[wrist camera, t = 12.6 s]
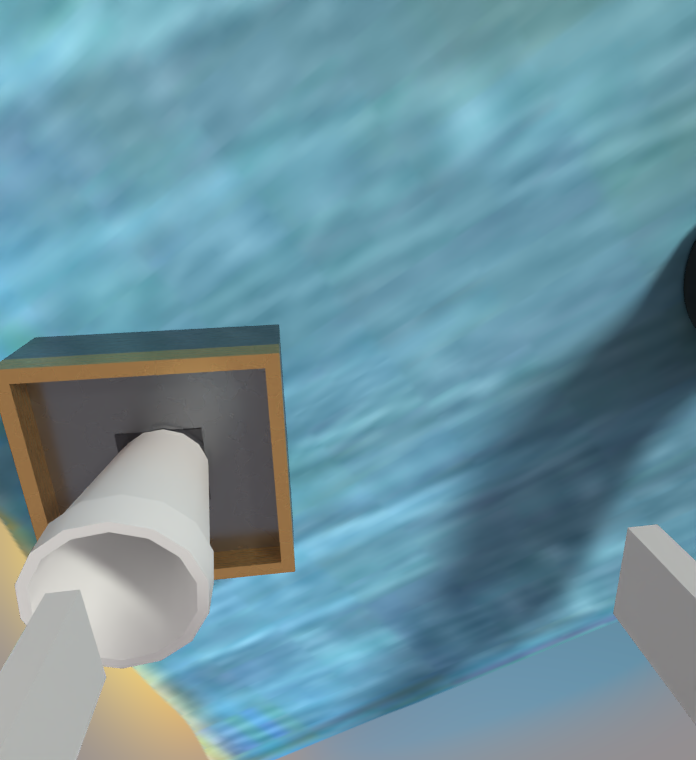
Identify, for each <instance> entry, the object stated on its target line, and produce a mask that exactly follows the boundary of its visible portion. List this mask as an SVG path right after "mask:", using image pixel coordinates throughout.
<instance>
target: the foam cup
mask: <svg viewBox="0 0 696 760" xmlns="http://www.w3.org/2000/svg"><path fill="white" fill-rule="evenodd" d="M213 584H214V551H213V549H212V548H211V546H210V525H209V472H208V459H207V457H206V456H205V454H204V452H203V450H202V449H201V447H200V445H199V444H198V443H196V442H195V441H193V440H192V439H190V438H189V437H187V436H186V435H185V434H183V433H178V432H174V431H169V430H164V429H162V430H156V431H151V432H145V433H142V434H141V435H139V436H138V437H137V438H135V439H134V440H132V441H131V442H129V443H128V444H127V446H125V447H124V448H123V449H122V450H121V451H120V452H119V453H118V454H117V456H116V457H115V458H114V459H113V460H112V461H111V462H110V463H109V464H108V465H107V466H106V468H105V469H104V470H103V471H102V472H101V473H100V474H99V475H98V476H97V477H96V478H95V480H94V481H93V482H92V483H91V484H90V485H89V486H88V487H87V488H86V489H85V490H84V491H83V493H82V494H81V495H80V496H79V497H78V498H77V499H76V500H75V501H74V502H73V503H72V505H71V506H70V507H69V508H68V509H67V510H66V511H65V512H64V513H63V514H62V515H60V516H59V517H58V518H56V519H55V520H53V521H52V522H50V523H49V524H48V526H47V527H46V529H45V530H44V532H43V533H42V535H41V536H40V538H39V540H38V541H37V543H36V544H35V546H34V547H33V549H32V550H31V552H30V553H29V556H28V558H27V560H26V562H25V564H24V566H23V569H22V571H21V573H20V575H19V577H18V579H17V581H16V583H15V591H16V596H17V602H18V607H19V613H20V619H21V620H22V621H23V622H24V623H25V624H26V626H27V624H28V622H29V620H30V619H31V617H32V615H33V614H34V612H35V610H36V608H37V607H38V605H39V603H40V601H41V600H42V598H43V596H44V595H45V593H53V592H62V591H70V590H79V589H80V591H81V594H82V598H83V601H84V604H85V608H86V611H87V615H88V618H89V621H90V625H91V628H92V631H93V635H94V638H95V641H96V645H97V648H98V651H99V655H100V658H101V661H102V665H103V666H105V667H113V668H127V667H132V666H137V665H141V664H146V663H151V662H156V661H160V660H163V659H164V658H166V657H167V656H169V655H170V654H172V653H174V652H175V651H177V650H178V649H180V648H181V647H183V646H185V645H186V644H188V643H189V642H191V641H192V640H193V638H194V637H195V635H196V633H197V632H198V630H199V628H200V627H201V625H202V624H203V622H204V620H205V619H206V617H207V615H208V614H209V610H210V603H211V597H212V590H213Z"/></svg>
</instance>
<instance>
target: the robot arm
mask: <svg viewBox="0 0 696 760" xmlns="http://www.w3.org/2000/svg"><path fill="white" fill-rule="evenodd" d="M684 297H685V304H686V308H687V312H688V314H689V317H690V319H691V321H692V323H693V325H694V326H695V328H696V241H695V243H694V245H693V248H692V250H691V253H690V256H689V259H688V263H687V267H686V272H685V279H684ZM613 614H614V615H615V617H616V618H617V619H618V621H619V622H620V623H621V625H622V626H623V627H624V629H625V630H626V631H627V632H628V634H629V635H630V637H631V638H632V640H633V641H634V642H635V643H636V645H637V646H638V648H639V649H640V650H641V651H642V653H643V654H644V656H645V657H646V658H647V660H648V661H649V662H650V664H651V665H652V667H653V668H654V669H655V671H656V672H657V673H658V675H659V676H660V677H661V679H662V680H663V681H664V683H665V684H666V685H667V687H668V688H669V689H670V691H671V692H672V694H673V695H674V696H675V697H676V699H677V700H678V702H679V703H680V704H681V706H682V707H683V709H684V710H685V711H686V713H687V714H688V715H689V717H690V718H691V719H692V721H693V722H694V723H695V724H696V561H695V560H694V559H693V558H692V557H691V556H690V555H689V554H688V553H687V552H686V551H685V550H683V549H682V548H681V547H680V546H679V545H678V544H677V543H676V542H675V541H674V540H673V539H672V538H671V537H670V536H669V535H668V534H667V533H666V532H665V531H664V530H662V529H661V528H660V527H659V526H658V525H648V526H639V527H630V528H628V530H627V535H626V541H625V547H624V553H623V559H622V565H621V571H620V577H619V583H618V588H617V594H616V600H615V606H614V612H613ZM105 679H106V675H105V672H104V669H103V665H102V661H101V658H100V655H99V651H98V648H97V645H96V641H95V638H94V635H93V631H92V628H91V625H90V621H89V618H88V615H87V611H86V608H85V604H84V601H83V598H82V594H81V591H80V589H79V590H70V591H62V592H53V593H45V595H44V596H43V598H42V600H41V601H40V603H39V605H38V607H37V608H36V610H35V612H34V614H33V615H32V617H31V619H30V620H29V622H28V624H27V626H26V627H25V629H24V631H23V633H22V634H21V636H20V638H19V640H18V641H17V643H16V645H15V646H14V648H13V650H12V652H11V653H10V655H9V657H8V659H7V660H6V662H5V664H4V666H3V667H2V669H1V671H0V760H76V759H77V757H78V754H79V751H80V748H81V746H82V743H83V740H84V737H85V735H86V732H87V729H88V726H89V723H90V721H91V718H92V715H93V712H94V709H95V707H96V704H97V701H98V698H99V696H100V693H101V690H102V687H103V685H104V682H105Z"/></svg>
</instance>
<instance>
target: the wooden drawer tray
mask: <svg viewBox="0 0 696 760" xmlns="http://www.w3.org/2000/svg"><path fill="white" fill-rule="evenodd" d="M0 414H1V417H2V421H3V424H4V428H5V431H6V435H7V438H8V442H9V445H10V449H11V452H12V455H13V459H14V462H15V466H16V469H17V473H18V476H19V480H20V483H21V487H22V490H23V494H24V497H25V501H26V504H27V508H28V511H29V515H30V518H31V522H32V525H33V528H34V532H35V535H36V539H37V541H38V540H39V538H40V536H41V535H42V533H43V532H44V530H45V529H46V527H47V526H48V524H49V523H50V522H52V521H53V520H55V519H56V518H58V517H59V516H60V515H62V514H63V513H64V512H65V511H66V510H67V509H68V508H69V507H70V506H71V505H72V503H73V502H74V501H75V500H76V499H77V498H78V497H79V496H80V495H81V494H82V493H83V491H84V490H85V489H86V488H87V487H88V486H89V485H90V484H91V483H92V482H93V481H94V480H95V478H96V477H97V476H98V475H99V474H100V473H101V472H102V471H103V470H104V469H105V468H106V466H107V465H108V464H109V463H110V462H111V461H112V460H113V459H114V458H115V457H116V456H117V454H118V453H119V452H120V451H121V450H122V449H123V448H124V447H125V446H127V444H128V443H129V442H131V441H132V440H134V439H135V438H137V437H138V436H139V435H141V434H142V433H145V432H151V431H156V430H162V429H164V430H169V431H174V432H178V433H183V434H185V435H186V436H187V437H189V438H190V439H192V440H193V441H195V442H196V443H198V444H199V445H200V447H201V449H202V450H203V452H204V454H205V456H206V457H207V459H208V472H209V525H210V546H211V548H212V549H213V551H214V580H217V579H226V578H236V577H246V576H256V575H265V574H275V573H285V572H294V571H295V558H294V536H293V515H292V501H291V487H290V473H289V459H288V445H287V431H286V417H285V402H284V388H283V374H282V360H281V346H280V332H279V325H263V326H244V327H225V328H207V329H188V330H169V331H150V332H132V333H113V334H94V335H75V336H57V337H38V338H34V339H32V340H31V341H30V342H28V343H27V344H25V345H24V346H22V347H21V348H19V349H18V350H17V351H15V352H14V353H12V354H11V355H9V356H8V357H6V358H5V359H4V360H2V361H1V362H0Z"/></svg>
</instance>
